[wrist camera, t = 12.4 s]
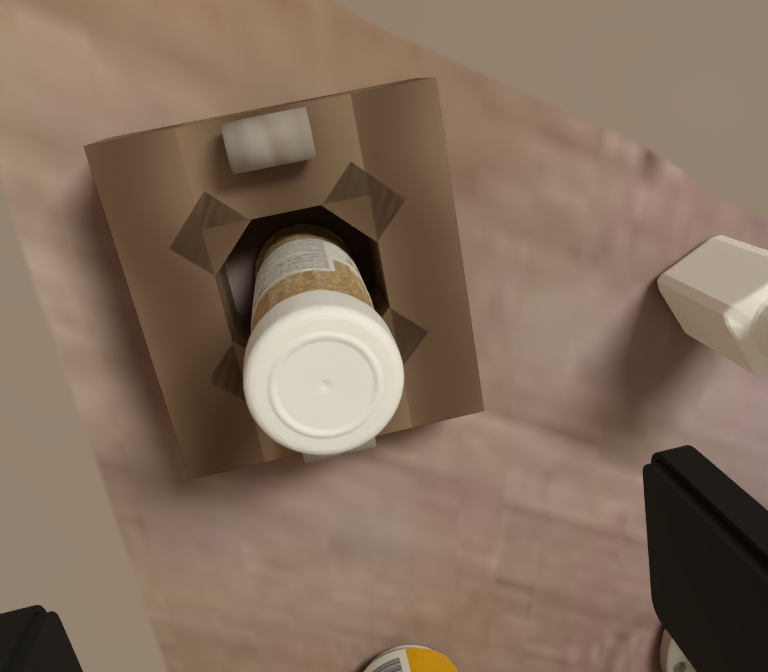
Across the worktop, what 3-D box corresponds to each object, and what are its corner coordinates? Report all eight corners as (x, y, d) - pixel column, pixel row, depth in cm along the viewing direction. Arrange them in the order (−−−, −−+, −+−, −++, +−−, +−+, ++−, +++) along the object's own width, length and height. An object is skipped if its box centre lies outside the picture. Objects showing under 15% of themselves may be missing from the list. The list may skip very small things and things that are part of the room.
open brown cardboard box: (415, 78, 30) (447, 76, 25) (461, 376, 35) (496, 429, 30) (107, 138, 29) (70, 150, 24) (198, 436, 34) (185, 502, 29)
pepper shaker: (647, 278, 35) (775, 343, 26) (715, 227, 35) (868, 276, 26) (683, 337, 36) (817, 419, 28) (749, 289, 36) (906, 356, 27)
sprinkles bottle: (364, 305, 33) (421, 438, 21) (268, 329, 33) (266, 478, 20) (342, 209, 32) (389, 290, 19) (241, 233, 31) (221, 331, 19)
